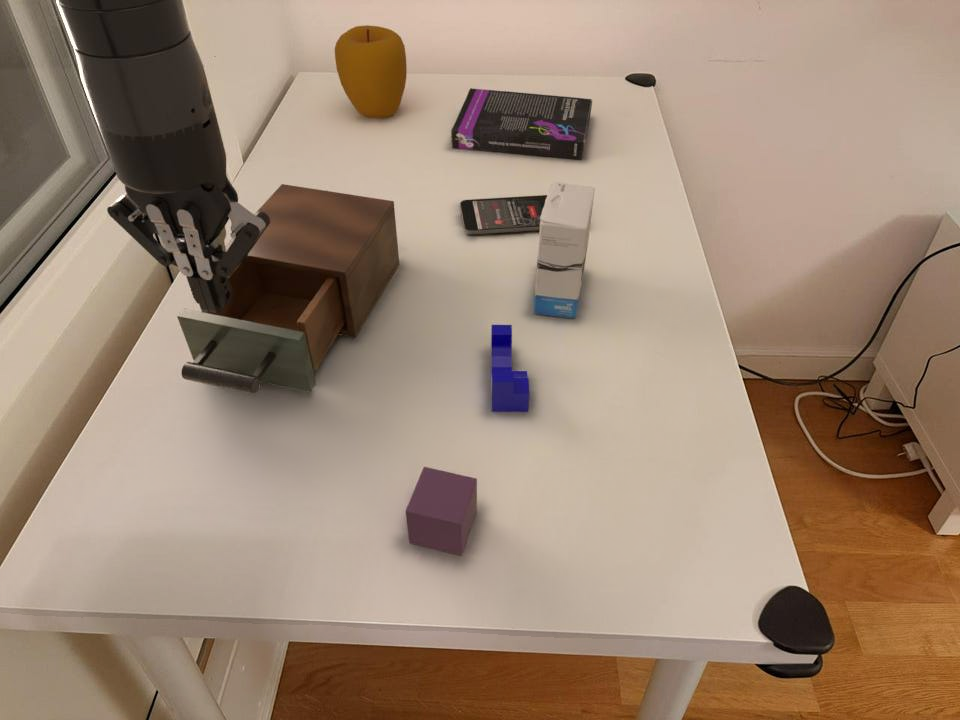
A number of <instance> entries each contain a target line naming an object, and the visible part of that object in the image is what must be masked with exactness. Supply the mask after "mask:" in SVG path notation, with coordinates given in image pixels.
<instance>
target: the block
mask: <svg viewBox="0 0 960 720" xmlns="http://www.w3.org/2000/svg"><path fill="white" fill-rule="evenodd" d="M477 512H478V478H477V477H471V476H468V475H463V474H458V473H453V472H450V471H446V470H442V469H441V470H440V469H436V468H431V467H427V466H423V468H422V470H421V472H420V474H419V478H418V480H417V482H416V484H415V487H414V489H413V492H412V494H411V496H410V499H409V501H408V504H407V506H406V508H405V518H406V527H407V537H408V542H409V544H411V545H412V544H413V545H417V546H420V547H424V548H428V549H432V550H437V551H440V552H444V553H448V554H453V555H457V556H462V557H463V554H464V551H465V548H466V545H467V542H468V539H469V537H470V534H471V530H472V527H473V524H474V522H475V518H476V515H477Z"/></svg>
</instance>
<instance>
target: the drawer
mask: <svg viewBox="0 0 960 720" xmlns="http://www.w3.org/2000/svg"><path fill="white" fill-rule="evenodd" d="M228 278H229V282H230V285H231V289H232V292H233V296H232V299H231V300H230V301H229V302H228V304H227V305H226V306H225V307H224V309H223V310H222V311H221V312H220V313H214V312H208V311H203V310H201V309H200V311H198V310H192V309H188V308H183V309H182V310H180V312H179V313H178V315H176V318H177V320H178V323H179V325H180V329H181V331H182V333H183V336H184V339H185V341H186V344H187V347H188V349H189V352H190V355H191V357H192V360H193V361H192V362H191V361H187V362H185V363H184V364H183V366H182V368H181V372H180V374H181V377H182V379H183V380H187V381H190V382H196V383H199V384H200V383H201V384H204V385H210V386H214V387H219V388H224V389H227V390H233V391H237V392H243V393H247V394H252V395H255V394H257V393H258V392H259V389H260V388H261V383H263V384H269V385H274V386H279V387H283V388H288V389H292V390H298V391H301V392H307V393H312V392H313V390H314V389H315V387H316V386H317V381H316V378H315V373H314V372H316V370H317V369H318V368H319V365H320V364H321V362H322V361H323V359H324V358H325V356H326V354H327V353H328V351H329V349H330V348H331V346H332V345H333V343H334V342H335V340H336V339H337V337H338V336H339V334H338V333H339V332H340V330H341V329H342V327H343V325H344V324H345V322H346V316H345V310H344V303H343V297H342V291H341V285H340V279H339V277H333V276H328V275H322V274H316V273H311V272H305V271H300V270H294V269H288V268H283V267H277V266H271V265H266V264H260V263H254V262H249V261H242V262H241V263H240V264H239V265H238V266H237V267H236V269H235V270H234V272H233V273H232V274H231V275H230V276H229V277H228Z"/></svg>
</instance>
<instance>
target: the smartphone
mask: <svg viewBox="0 0 960 720" xmlns="http://www.w3.org/2000/svg"><path fill="white" fill-rule="evenodd" d="M546 198H547V194H542V195H525V196H524V195H523V196H509V197H508V196H507V197H493V198H491V197H490V198H472V199H463V200H461V201H460V203H459V208H460V213H461V219H462V225H463V230H464V232H465V234H467V235H469V236H473V235H475V236H476V235H489V234H490V235H491V234H505V233H519V232H520V233H521V232H535V231H536V232H537V231H540V221H541V219H540V216H541V214H542V210H543V208H544V205H545V200H546Z"/></svg>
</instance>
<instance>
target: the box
mask: <svg viewBox="0 0 960 720" xmlns="http://www.w3.org/2000/svg"><path fill="white" fill-rule="evenodd" d="M592 106H593V99H592V98H582V97H574V96H573V97H572V96H562V95H553V94H552V95H550V94H541V93H540V94H539V93H538V94H537V93H531V92H530V93H529V92H517V91H509V90H508V91H506V90H495V89H494V90H493V89H481V88H473V87H472V88H470V89H468V93H467V95H466V98H465V100H464V102H463V104H462V106H461V108H460V111H459V113H458V115H457V118H456V120H455V122H454V124H453V126H452V128H451V129H450V141H451V142H450V143H451V148H452V149H461V150H462V149H463V150H476V151H487V152H488V151H489V152H498V153H509V154H519V155H528V156H529V155H530V156H540V157H552V158H561V159H571V160H572V159H574V160H583V159H584V155H585V148H586V141H587V135H588V130H589V123H590V120H591V119H590V118H591V114H592Z"/></svg>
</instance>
